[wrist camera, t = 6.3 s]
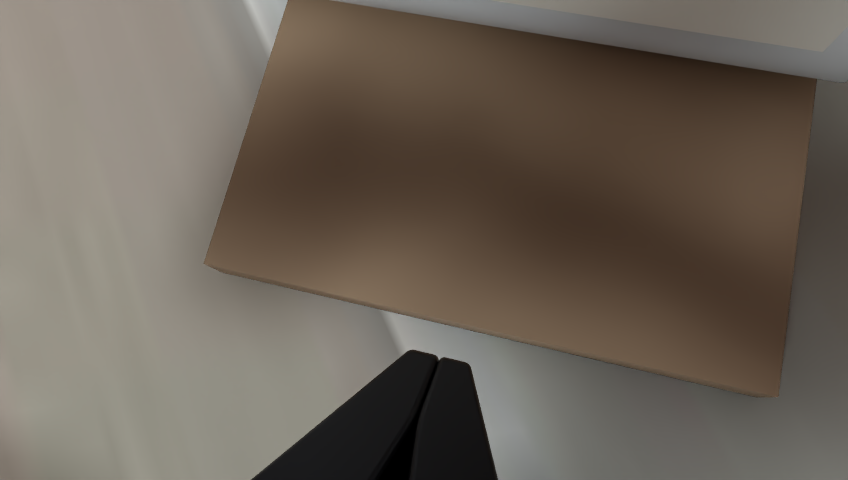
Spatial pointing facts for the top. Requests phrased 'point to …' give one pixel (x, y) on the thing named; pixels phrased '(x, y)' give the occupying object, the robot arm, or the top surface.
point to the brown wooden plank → (527, 189)
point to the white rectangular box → (675, 27)
